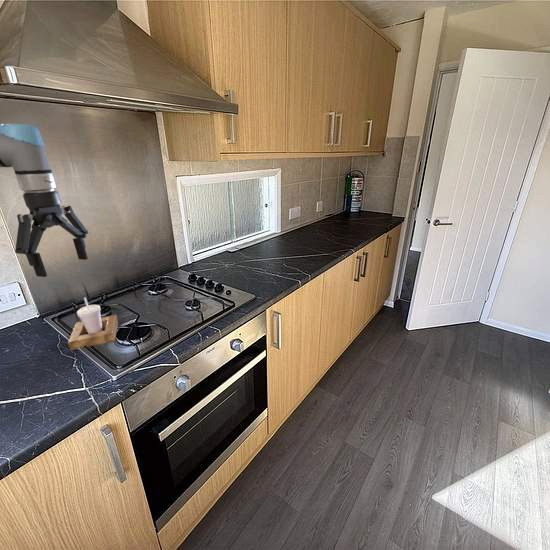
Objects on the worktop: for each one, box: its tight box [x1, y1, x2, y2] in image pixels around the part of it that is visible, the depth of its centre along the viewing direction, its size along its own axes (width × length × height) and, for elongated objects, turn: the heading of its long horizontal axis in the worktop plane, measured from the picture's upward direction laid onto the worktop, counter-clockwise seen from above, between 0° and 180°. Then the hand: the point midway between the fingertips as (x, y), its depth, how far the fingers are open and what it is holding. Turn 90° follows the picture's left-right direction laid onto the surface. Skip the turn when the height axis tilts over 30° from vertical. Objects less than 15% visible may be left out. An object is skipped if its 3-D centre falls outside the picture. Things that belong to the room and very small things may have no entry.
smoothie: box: [76, 296, 104, 334], centre depth 92 cm, size 6×6×14 cm
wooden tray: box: [67, 314, 119, 351], centre depth 95 cm, size 12×12×3 cm
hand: (64, 267), depth 84 cm, fingers open, 13 cm apart
